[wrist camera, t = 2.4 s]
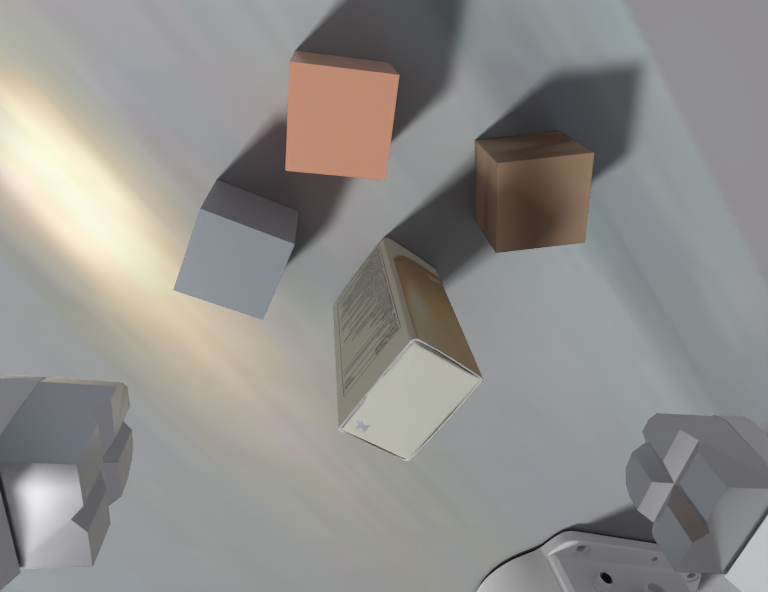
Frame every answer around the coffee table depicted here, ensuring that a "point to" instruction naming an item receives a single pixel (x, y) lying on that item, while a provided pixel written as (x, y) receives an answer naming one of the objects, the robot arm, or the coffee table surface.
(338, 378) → the skincare box
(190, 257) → the slate cube
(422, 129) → the coffee table surface
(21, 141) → the coffee table surface
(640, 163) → the coffee table surface
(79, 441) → the robot arm
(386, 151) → the terracotta cube
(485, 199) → the walnut cube
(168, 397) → the coffee table surface
